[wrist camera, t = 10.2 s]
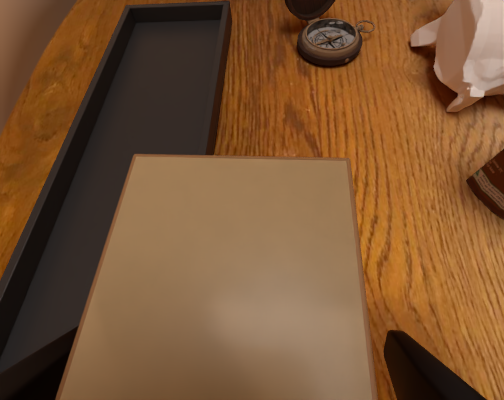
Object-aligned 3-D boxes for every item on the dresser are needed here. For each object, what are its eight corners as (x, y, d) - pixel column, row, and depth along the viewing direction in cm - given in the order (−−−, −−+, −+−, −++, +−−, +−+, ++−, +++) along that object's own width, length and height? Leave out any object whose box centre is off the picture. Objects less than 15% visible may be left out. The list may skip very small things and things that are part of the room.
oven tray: (175, 430, 13) (160, 448, 11) (-23, 413, 14) (-68, 426, 12) (232, 22, 28) (229, 0, 27) (135, 25, 29) (125, 4, 27)
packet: (298, 401, 13) (417, 715, 3) (203, 392, 14) (-22, 630, 3) (297, 265, 17) (350, 156, 6) (219, 261, 17) (132, 152, 6)
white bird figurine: (505, 126, 24) (501, -26, 25) (632, 76, 15) (619, -151, 16) (408, 125, 24) (408, -22, 26) (479, 77, 16) (475, -141, 17)
